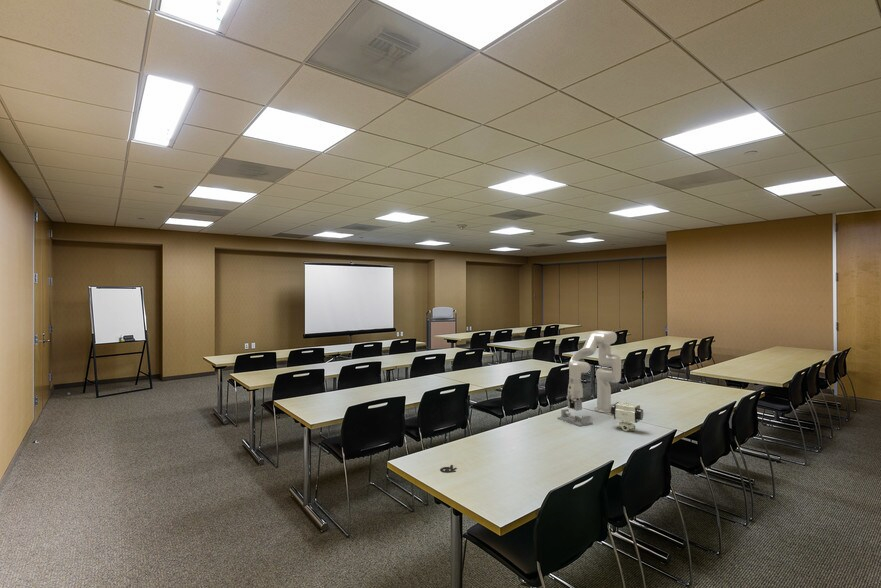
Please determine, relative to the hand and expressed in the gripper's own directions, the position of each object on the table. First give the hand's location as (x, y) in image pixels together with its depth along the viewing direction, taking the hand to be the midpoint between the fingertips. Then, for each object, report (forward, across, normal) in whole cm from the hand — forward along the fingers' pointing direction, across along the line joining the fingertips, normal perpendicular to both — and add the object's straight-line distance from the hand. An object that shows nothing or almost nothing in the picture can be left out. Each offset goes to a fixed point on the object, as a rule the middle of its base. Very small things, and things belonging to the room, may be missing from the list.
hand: (574, 407), depth 286 cm
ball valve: (+10, +15, -29) cm, 34 cm away
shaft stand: (+10, 0, 0) cm, 10 cm away
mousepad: (+11, -113, -26) cm, 116 cm away
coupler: (+1, 0, 0) cm, 1 cm away
